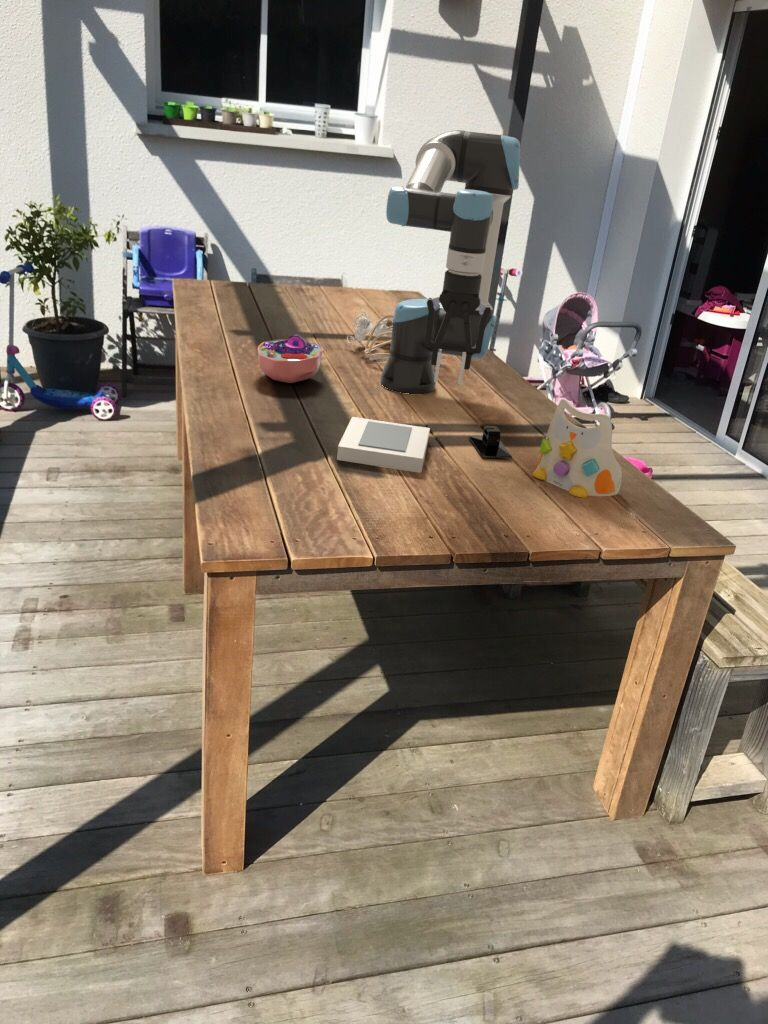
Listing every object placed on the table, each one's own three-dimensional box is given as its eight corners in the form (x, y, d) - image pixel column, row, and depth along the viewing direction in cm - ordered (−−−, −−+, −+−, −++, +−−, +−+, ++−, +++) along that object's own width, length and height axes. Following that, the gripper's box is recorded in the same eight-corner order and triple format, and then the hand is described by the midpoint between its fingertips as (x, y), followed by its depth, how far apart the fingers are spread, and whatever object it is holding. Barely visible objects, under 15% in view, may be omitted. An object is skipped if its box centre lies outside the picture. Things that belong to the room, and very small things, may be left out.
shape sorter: (516, 472, 182) (531, 395, 174) (544, 461, 189) (559, 387, 181) (592, 507, 171) (612, 426, 163) (619, 494, 178) (639, 416, 170)
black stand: (468, 437, 197) (470, 419, 195) (497, 438, 198) (500, 420, 196) (482, 457, 186) (485, 437, 184) (513, 457, 187) (516, 438, 185)
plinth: (350, 433, 192) (352, 415, 190) (427, 444, 191) (430, 426, 189) (336, 463, 176) (338, 444, 174) (420, 476, 175) (423, 457, 173)
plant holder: (371, 387, 236) (379, 334, 227) (334, 334, 262) (339, 285, 253) (459, 382, 246) (470, 332, 237) (415, 332, 272) (423, 285, 262)
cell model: (239, 380, 216) (241, 338, 211) (283, 363, 233) (285, 324, 227) (294, 396, 210) (297, 353, 205) (335, 378, 226) (338, 337, 221)
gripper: (419, 269, 166) (406, 381, 177) (507, 280, 165) (488, 392, 176) (422, 263, 173) (408, 371, 183) (506, 273, 172) (488, 381, 183)
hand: (448, 381), depth 180 cm, fingers open, 4 cm apart
